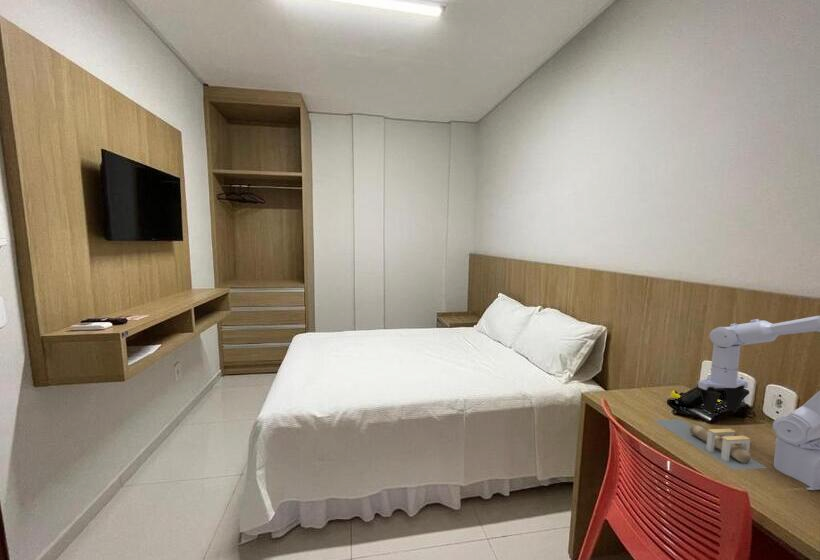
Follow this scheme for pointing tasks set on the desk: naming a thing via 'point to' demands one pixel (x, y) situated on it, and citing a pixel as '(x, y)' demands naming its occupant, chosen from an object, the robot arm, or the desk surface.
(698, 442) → the peg gate board
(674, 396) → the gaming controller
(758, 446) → the desk surface
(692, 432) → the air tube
